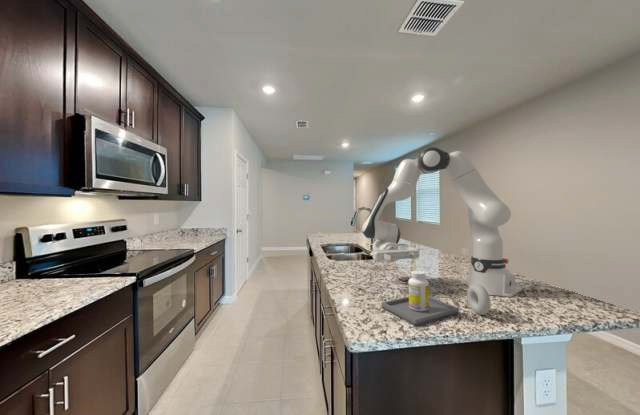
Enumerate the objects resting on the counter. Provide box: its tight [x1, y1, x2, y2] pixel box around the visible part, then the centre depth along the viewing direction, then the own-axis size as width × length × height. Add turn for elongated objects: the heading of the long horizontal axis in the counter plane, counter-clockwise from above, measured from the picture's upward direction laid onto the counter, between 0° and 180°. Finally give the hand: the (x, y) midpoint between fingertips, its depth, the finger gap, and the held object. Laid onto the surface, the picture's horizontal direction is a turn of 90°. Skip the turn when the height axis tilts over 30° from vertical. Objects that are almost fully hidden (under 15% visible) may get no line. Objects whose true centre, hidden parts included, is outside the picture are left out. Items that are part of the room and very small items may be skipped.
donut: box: [466, 284, 492, 316], centre depth 86 cm, size 10×4×10 cm, turn 179°
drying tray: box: [381, 295, 460, 327], centre depth 89 cm, size 20×16×2 cm
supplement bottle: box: [408, 270, 430, 312], centre depth 89 cm, size 7×7×13 cm
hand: (402, 257), depth 104 cm, fingers open, 8 cm apart
